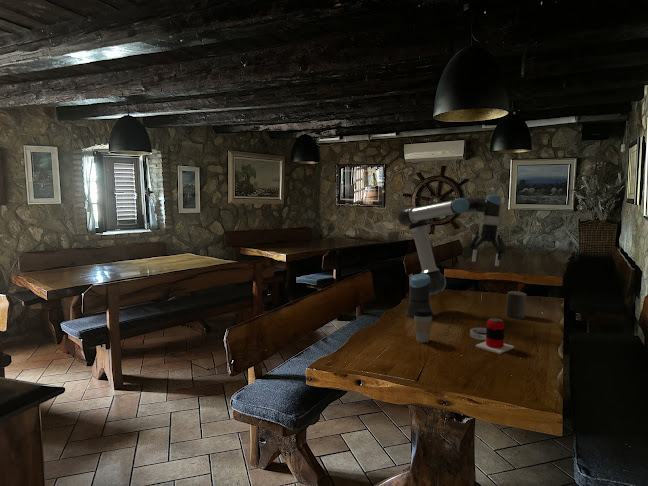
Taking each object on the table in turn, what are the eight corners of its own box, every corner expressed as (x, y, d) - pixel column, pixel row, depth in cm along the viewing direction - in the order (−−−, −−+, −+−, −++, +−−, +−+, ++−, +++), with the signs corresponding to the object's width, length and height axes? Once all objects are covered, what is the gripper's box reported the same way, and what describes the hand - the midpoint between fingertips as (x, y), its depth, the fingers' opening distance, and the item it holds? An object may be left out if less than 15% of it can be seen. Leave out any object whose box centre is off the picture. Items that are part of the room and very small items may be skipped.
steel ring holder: (465, 335, 214) (465, 331, 214) (479, 330, 222) (479, 326, 222) (487, 342, 205) (487, 337, 204) (501, 336, 212) (501, 332, 212)
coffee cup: (433, 344, 202) (433, 313, 201) (412, 343, 204) (412, 312, 203) (432, 337, 212) (432, 308, 210) (412, 336, 213) (412, 307, 212)
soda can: (493, 349, 193) (493, 323, 192) (482, 343, 200) (483, 318, 199) (507, 347, 195) (508, 321, 194) (496, 342, 202) (497, 317, 201)
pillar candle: (506, 317, 245) (507, 291, 243) (506, 313, 254) (507, 288, 252) (525, 319, 241) (526, 293, 240) (524, 315, 250) (525, 289, 249)
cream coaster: (475, 346, 199) (475, 345, 199) (489, 341, 206) (490, 339, 206) (499, 354, 189) (499, 352, 189) (514, 347, 197) (514, 346, 197)
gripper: (516, 227, 222) (510, 267, 225) (473, 222, 242) (468, 259, 244) (508, 226, 218) (503, 268, 220) (465, 221, 237) (460, 259, 239)
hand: (485, 263), depth 232 cm, fingers open, 13 cm apart
